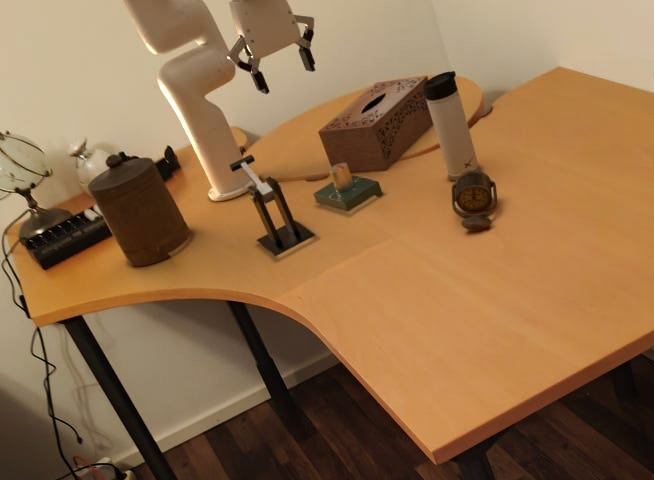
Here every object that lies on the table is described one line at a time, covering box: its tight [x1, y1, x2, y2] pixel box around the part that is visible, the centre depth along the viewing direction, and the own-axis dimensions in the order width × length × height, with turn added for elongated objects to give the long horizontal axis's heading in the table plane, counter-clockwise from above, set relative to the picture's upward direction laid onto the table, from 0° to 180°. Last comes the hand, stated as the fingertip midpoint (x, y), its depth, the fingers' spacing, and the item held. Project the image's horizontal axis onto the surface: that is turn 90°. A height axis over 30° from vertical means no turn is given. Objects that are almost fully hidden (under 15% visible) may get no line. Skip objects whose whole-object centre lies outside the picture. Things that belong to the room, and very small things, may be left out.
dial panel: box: [312, 174, 384, 212], centre depth 175 cm, size 12×9×3 cm
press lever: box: [229, 153, 275, 205], centre depth 165 cm, size 12×5×2 cm, turn 29°
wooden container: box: [87, 154, 191, 267], centre depth 180 cm, size 15×15×22 cm
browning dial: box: [328, 163, 354, 192], centre depth 173 cm, size 4×4×5 cm
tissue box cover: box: [317, 75, 434, 173], centre depth 193 cm, size 26×14×10 cm, turn 150°
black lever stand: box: [247, 175, 316, 257], centre depth 165 cm, size 11×9×13 cm
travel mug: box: [423, 70, 480, 182], centre depth 164 cm, size 6×7×20 cm
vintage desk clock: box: [450, 170, 498, 232], centre depth 151 cm, size 7×13×10 cm
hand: (288, 81), depth 155 cm, fingers open, 9 cm apart
